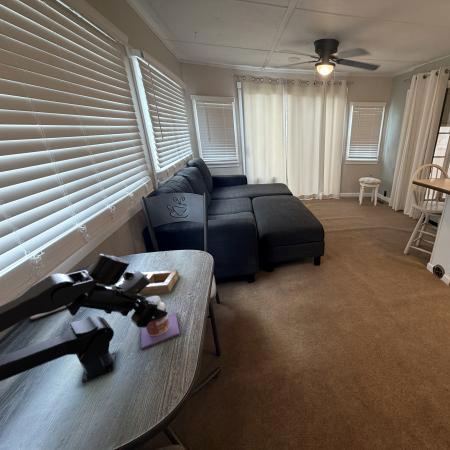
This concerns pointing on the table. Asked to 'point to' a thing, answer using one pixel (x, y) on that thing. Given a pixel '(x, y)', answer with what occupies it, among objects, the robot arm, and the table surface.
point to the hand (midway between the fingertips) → (159, 308)
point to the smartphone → (46, 313)
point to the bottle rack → (155, 288)
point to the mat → (172, 331)
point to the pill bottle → (160, 324)
